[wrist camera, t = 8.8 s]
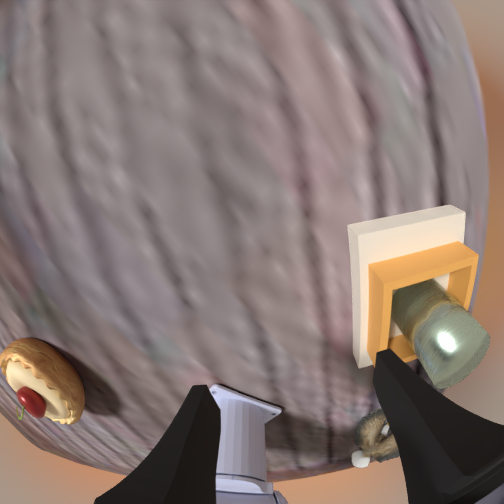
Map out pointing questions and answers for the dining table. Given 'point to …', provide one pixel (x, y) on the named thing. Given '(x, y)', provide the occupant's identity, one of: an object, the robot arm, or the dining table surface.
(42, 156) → the dining table surface
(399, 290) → the green can
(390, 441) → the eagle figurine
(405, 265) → the orange and cream box
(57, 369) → the pastry
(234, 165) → the dining table surface
